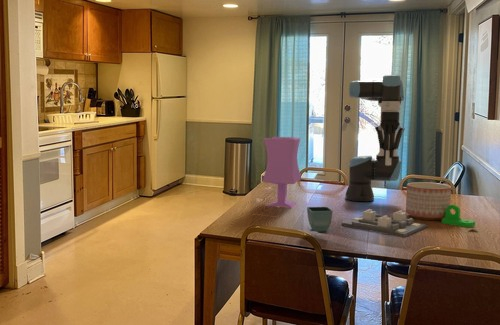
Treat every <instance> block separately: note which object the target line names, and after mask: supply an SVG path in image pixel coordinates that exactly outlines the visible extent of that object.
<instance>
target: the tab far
mask: <svg viewBox="0 0 500 325" xmlns="http://www.w3.org/2000/svg"><path fill="white" fill-rule="evenodd" d="M392 217H393V220H396V221H406V219H407V213H406V211H405V212H403V210H397V211H395V212H392Z"/></svg>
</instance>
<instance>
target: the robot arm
mask: <svg viewBox="0 0 500 325" xmlns="http://www.w3.org/2000/svg"><path fill="white" fill-rule="evenodd" d="M401 78H402V77H401V75H397V74H395V75H394V74H386V75H384V76H382V78H369V79H364V80H353V81H350V82H349V85H348V95H349V97H350V98H354V99H358V98H359V99H361V100H365V101H371V102H377V104H378V106H379V107H380V122H379V125H378V126H375V127H374V128H375V131H376V133H377V139H378V143H379V152H378V153H377V154H376V157H375V158H373V156H372V155H360V156H354V157H352V158H350V159H349V166H348V168H349V174H348V175H349V176H348V179H349V180H348V186H347V189H346V192H345V196H344V197H345V199H346V200H349V201H354V202H355V201H356V202H371V201H374V200H375V193H374V191H373V188H372V181H381V182H382V181H383V182H396V181H398V180H399V177H400V175H401V170H402V168H401V167H402V159H400V156H399V154H397V150H398V149H399V146H400V143H401V139H402V135H403V132H404V131H405V129H406V128H405V127H402V126H401V124H400V112H399V111H400V109H401V108H400V106H401V104H402V102H404V101H405V97H404V96H405V93H404V84H403V81H402V79H401Z"/></svg>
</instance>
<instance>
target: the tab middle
mask: <svg viewBox="0 0 500 325" xmlns="http://www.w3.org/2000/svg"><path fill="white" fill-rule="evenodd" d="M376 213H377V212H376V211H375V210H374V211H373V210H372V209H371V208H369V209H366V210H364V211H362V216H363V219H366V220H372V221H375V215H376Z"/></svg>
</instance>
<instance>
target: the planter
mask: <svg viewBox="0 0 500 325" xmlns="http://www.w3.org/2000/svg"><path fill="white" fill-rule="evenodd" d="M451 197H452V186H451V185H449V184H446V183H445V184H444V183H437V182H429V181H428V182H427V181H426V182H424V181H421V182H418V181H415V182H408V183H407V184H406V198H405V199H406V202H405V213H406V215H407V214H408V215H409V217H410V218H413V219H418V220H422V221H423V220H425V221H442V219H443V218H445V215H446V208H447V207H448V206H450V205H451V200H452V198H451Z"/></svg>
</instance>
